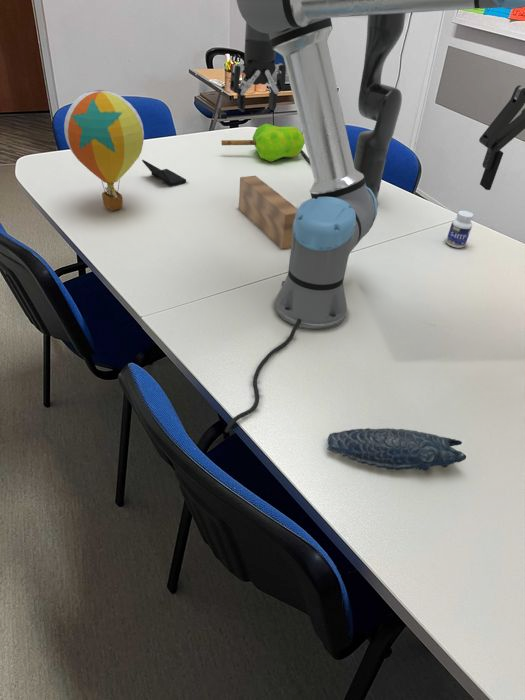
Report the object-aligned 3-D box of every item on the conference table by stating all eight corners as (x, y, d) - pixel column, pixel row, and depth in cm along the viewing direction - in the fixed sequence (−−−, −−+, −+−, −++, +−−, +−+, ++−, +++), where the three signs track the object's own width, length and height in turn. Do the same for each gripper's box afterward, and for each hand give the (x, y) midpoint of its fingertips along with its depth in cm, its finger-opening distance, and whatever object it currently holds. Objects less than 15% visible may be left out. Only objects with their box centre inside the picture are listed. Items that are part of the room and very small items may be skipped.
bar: (298, 246, 136) (302, 212, 130) (281, 249, 134) (285, 214, 128) (253, 206, 153) (255, 175, 147) (238, 208, 151) (240, 177, 146)
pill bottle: (444, 245, 142) (454, 215, 137) (446, 237, 146) (456, 207, 141) (464, 249, 141) (475, 219, 135) (465, 241, 145) (476, 212, 139)
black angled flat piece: (190, 175, 164) (173, 153, 156) (179, 193, 163) (161, 172, 155) (166, 170, 170) (147, 148, 162) (155, 188, 169) (136, 167, 161)
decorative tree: (218, 120, 186) (299, 120, 191) (218, 150, 192) (297, 149, 197) (225, 135, 172) (312, 134, 177) (225, 166, 178) (309, 165, 184)
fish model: (464, 484, 79) (474, 462, 76) (325, 466, 80) (330, 444, 77) (456, 450, 84) (465, 429, 81) (326, 434, 85) (331, 412, 82)
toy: (64, 203, 145) (44, 85, 127) (127, 189, 156) (117, 79, 137) (97, 229, 134) (80, 105, 116) (162, 213, 145) (156, 96, 126)
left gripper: (628, 55, 85) (571, 182, 98) (486, 45, 82) (446, 178, 95) (660, 65, 79) (595, 198, 93) (509, 54, 76) (463, 194, 89)
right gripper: (279, 34, 128) (274, 104, 138) (227, 33, 123) (225, 107, 133) (294, 39, 123) (287, 112, 133) (240, 39, 117) (237, 115, 128)
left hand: (519, 188), depth 94 cm, fingers open, 13 cm apart
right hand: (256, 109), depth 133 cm, fingers open, 8 cm apart
